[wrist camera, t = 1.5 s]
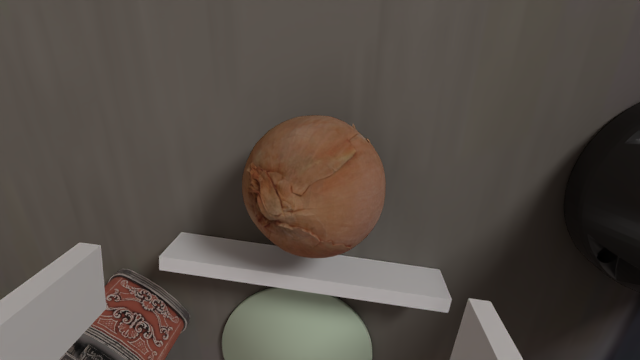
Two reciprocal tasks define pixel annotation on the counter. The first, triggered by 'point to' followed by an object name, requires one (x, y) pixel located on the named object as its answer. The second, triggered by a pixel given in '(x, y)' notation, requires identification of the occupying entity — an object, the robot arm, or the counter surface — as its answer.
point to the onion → (314, 186)
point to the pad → (295, 328)
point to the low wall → (307, 272)
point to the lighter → (132, 322)
